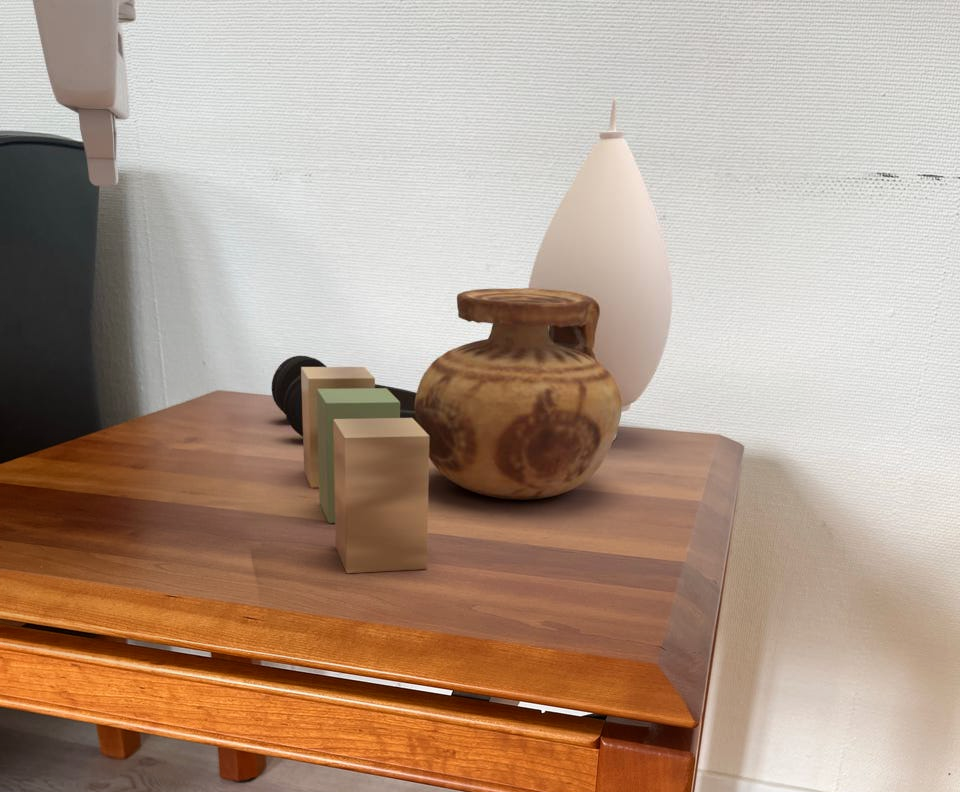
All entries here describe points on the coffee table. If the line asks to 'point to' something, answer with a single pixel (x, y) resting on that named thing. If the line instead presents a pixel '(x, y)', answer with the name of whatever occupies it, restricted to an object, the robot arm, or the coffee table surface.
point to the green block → (345, 407)
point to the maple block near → (381, 494)
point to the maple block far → (310, 383)
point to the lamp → (613, 262)
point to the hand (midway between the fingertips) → (104, 186)
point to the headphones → (290, 391)
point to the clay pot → (521, 396)
